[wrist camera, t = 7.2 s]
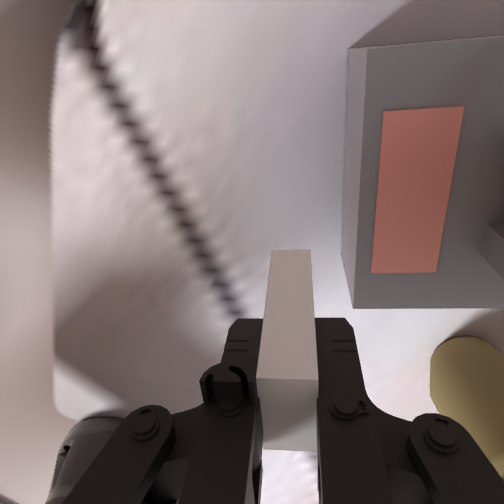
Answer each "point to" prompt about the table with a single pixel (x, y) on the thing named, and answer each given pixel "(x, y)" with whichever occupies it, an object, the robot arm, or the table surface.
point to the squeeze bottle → (472, 391)
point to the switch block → (425, 175)
